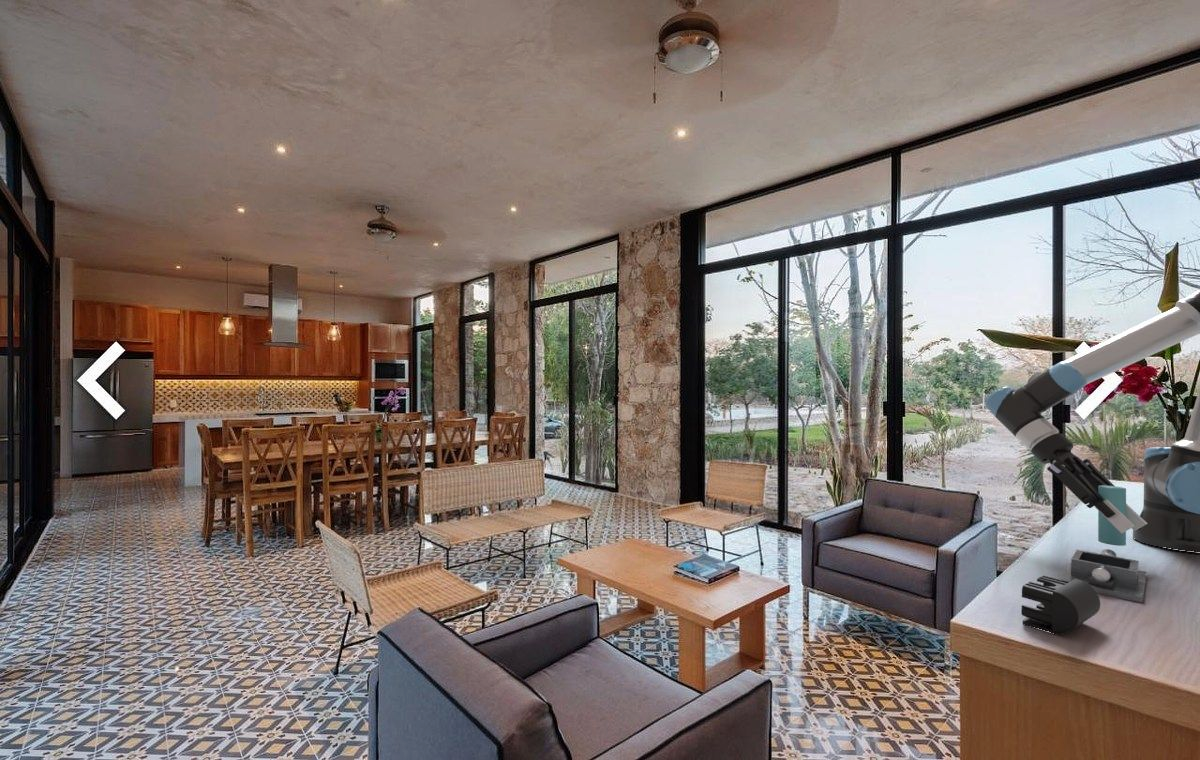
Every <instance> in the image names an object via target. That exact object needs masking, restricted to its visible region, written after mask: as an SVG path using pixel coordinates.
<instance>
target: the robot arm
mask: <svg viewBox="0 0 1200 760" xmlns="http://www.w3.org/2000/svg"><path fill="white" fill-rule="evenodd" d="M1174 305H1175V306H1174V307H1173V308H1171V309H1169V310H1167V311H1165V312H1162V313H1160V314H1158V315H1156V316H1154V317H1152V318H1150V319H1148V320H1146V321H1144V322H1142V323H1140V324H1138V325H1136V326H1134V327H1130V328H1129V329H1127V330H1125V331H1123V332H1121V333H1119V334H1117V335H1114V336H1112V337H1110V338H1109V339H1107V340H1104V341H1103V342H1100V343H1098V344H1096V345H1094V346H1092V347H1090V348H1088V349H1086V350H1082V351H1081V352H1079V353H1077V354H1076V355H1073V356H1071V357H1068V358H1067V359H1065V360H1062V361H1059V362H1058V363H1056V364H1054V365H1052V366H1050V367H1048V368H1046V369H1044V370H1042V371H1039V372H1035V373H1034V374H1032V375H1031V376H1030V377H1029V378H1028V380H1027V383H1026V384H1024V385H1023V386H1021V387H1019V388H1017V389H1015V388H1013V387H1012V386H1009V385H1008V386H1004V387H1001V388H1000V389H997V390H995V391H994V392H992V393H991V394H990V395H989V396H987V399H986V400H985V407H986V409H987V410H989V412H990V413H991V414H992V415H993V416H994V417H995V418H996V419H997V420H998V421H999V422H1000V423H1001V424H1002V425H1003V427H1005V428H1006V429H1007V430H1008V431H1009V432H1010V433H1011V434H1012V435H1013V436H1014V437H1016V439H1017V440H1018V441H1019V444H1020V445H1022V446H1024V447H1025V449H1027V450H1029V451H1030V452H1031V455H1033V456H1034V457H1035V458H1036V459H1037V460H1038V461H1039V462H1040V463H1041V464H1045V465H1046V464H1050V465H1049V466H1048V467H1047V468H1046V470H1047V471H1048V472H1050V473H1051V474H1052V475H1053V476H1054V477H1056V479H1058V480H1059V481H1060V482H1061V483H1062V484H1063V485H1065V487H1066V488H1067V489H1069V490H1070V492H1072V493H1073V495H1074V496H1075V497H1076V498H1078V500H1079V501H1080V502H1082V503H1083V504H1084V505H1086V507H1087V508H1089V509H1091V508H1093V507H1094V508H1095V509H1096V510H1097V511H1099V512H1100V513H1101V514H1102V515H1103V516H1104V517H1105V518H1106V519H1107V520H1109V521H1110V522H1111V523H1112V524H1113V525H1114V526H1115V527H1116V528H1117V529H1118V530H1119V531H1120V532H1121V533H1124V532H1126V533H1127V531H1129V530H1131V529H1132V539H1133V538H1135V539H1136V540H1138V541H1137V542H1139V541H1140V542H1139V543H1141V542H1143V543H1142V544H1144V543H1146V544H1145V545H1148V544H1150V545H1149V546H1151V545H1155V546H1159V547H1158V548H1160V547H1166V548H1171V549H1178V550H1185V551H1194V552H1200V388H1199V389H1198V393H1197V396H1196V399H1195V403H1194V406H1193V409H1192V412H1191V415H1190V419H1189V421H1188V422H1189V423H1188V424H1187V425H1188V426H1187V428H1186V432H1185V435H1184V438H1182V439H1180V440H1178V441H1175V442H1174V443H1172V444H1171V446H1169V447H1167V446H1166V447H1164V446H1163V447H1162V446H1155V447H1153V446H1152V447H1148V448H1146V450H1145V452H1144V458H1143V459H1142V460H1143V463H1144V465H1143V468H1144V469H1143V507H1142V510H1141V512H1140V514H1138V513H1137V512H1136V511H1135V510H1134V509H1133V508H1132V507H1130V505H1128V504H1127V503H1126V517H1125V516H1124V515H1123V514H1122V513H1121V512H1120V511H1119V510H1118V509H1117V508H1116V507H1115V506H1114V505H1113V504H1112V503H1111V502H1110V501H1108V500H1104V499H1103V498H1102V496H1101V495H1100V494H1099V493H1098V486H1101V485H1105V486H1115V485H1114V484H1113V482H1111V481H1110V480H1109V479H1108V478H1107V477H1106V476H1105V475H1104V474H1103V473H1102V472H1100V470H1099V469H1098V468H1096V467H1095V465H1094V464H1093V463H1092V462H1091V460H1089V459H1088V458H1084V459H1081V458H1080V457H1078V456H1076V455H1075V454H1074V453H1072V450H1073V448H1074V444H1073V443H1072V441H1070V440H1069V439H1068V438H1067V437H1066V436H1065V435H1064V434H1063V433H1060V430H1059V429H1058V428H1057V427H1056V426H1055V425H1053V424H1052V423H1051V422H1050V421H1049V420H1048V419H1047V418H1045V417H1044V415H1043V413H1045V412H1046V411H1048V410H1049V409H1051V408H1053V407H1054V406H1056V405H1058V404H1059V403H1061V402H1063V401H1065V400H1066V399H1068V398H1069V397H1071V396H1072V395H1074V394H1077V393H1078V391H1080V390H1081V389H1083V388H1084V387H1086V385H1088V384H1090V383H1093V382H1095V381H1097V380H1099V379H1102V378H1104V377H1106V376H1108V375H1110V374H1112V373H1115V372H1117V371H1119V370H1122V369H1124V368H1127V367H1128V366H1130V365H1133V364H1135V363H1138V362H1140V361H1142V360H1144V359H1147V358H1148V357H1151V356H1152V355H1153V356H1154V355H1155V354H1157V353H1160V352H1162V351H1165V350H1166V349H1168V348H1172V347H1173V346H1175V345H1177V344H1180V343H1182V342H1184V341H1186V340H1188V339H1191V338H1193V337H1195V336H1197V335H1200V289H1198V290H1196V291H1194V292H1193V293H1191V294H1189V295H1188V296H1185V297H1184V298H1181V299H1180V300H1177V301H1176V302H1175V304H1174ZM1103 500H1104V501H1103ZM1135 539H1134V540H1135ZM1136 540H1135V541H1136ZM1155 546H1154V547H1155Z"/></svg>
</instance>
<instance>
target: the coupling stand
mask: <svg viewBox="0 0 1200 760" xmlns="http://www.w3.org/2000/svg"><path fill="white" fill-rule="evenodd" d="M1070 559H1071V560H1070V562H1069V564H1068V566H1067V568H1066V570H1065V571H1064V573H1063V575H1062V576H1061V578H1060V579H1059V580H1063V581H1067V582H1071V581H1072V580H1074V579H1078V580H1081V581H1083V582H1085V583H1087V584H1088V585H1090V586H1091V587H1092V588H1093V589H1094V590H1095V591H1096V593H1097V594H1098V595H1099V594H1100V595H1104V596H1109V597H1114V598H1118V599H1122V600H1126V601H1127V600H1128V601H1131V602H1135V603H1140V604H1143V600H1144V595H1145V587H1146V582H1147V580H1146V579H1147V571H1144V570H1139V560H1135V559H1130V558H1124V557H1119V556H1117V553H1116V552H1115V551H1114V550H1112V549H1110V548H1109V549H1108V548H1104V549H1102V550H1101V551H1100V553H1096V552H1093V551H1085V550H1081V549H1076V550H1075V553H1073V555H1072V557H1071V558H1070Z"/></svg>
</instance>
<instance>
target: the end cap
mask: <svg viewBox="0 0 1200 760" xmlns="http://www.w3.org/2000/svg"><path fill="white" fill-rule="evenodd" d="M1036 582H1039V583H1040V584H1039V583H1036ZM1036 582H1032V581H1029V582H1028V583H1027V582H1026V583H1025V584H1023V585H1022V586H1021V587H1022V588H1021V598H1024V599H1028V600H1031V601H1034V602H1038V604H1037V605H1036V608H1035V607H1033V606H1030V605H1029V606H1028V605H1025V604H1021V610H1020V611H1021V613H1020V614H1021V616H1023V617H1025V618H1023V619H1022V623H1023V624H1022V625H1024V624H1025V625H1024V626H1026V625H1028V626H1027V627H1029V626H1031V627H1030V628H1032V627H1035V628H1039V629H1042V630H1045V631H1049V632H1051V633H1054V634H1058V635H1057V636H1060V635H1063V634H1066V633H1069V632H1072V631H1073V630H1075V629H1076V628H1078V627H1079V626H1080V625H1082V624H1084V623H1085V622H1086V621H1088V620H1089V619H1092V618H1093V617H1094V616H1096V614H1098V613H1099V611H1100V608H1101V599H1100V596H1099V593H1096V591H1095V590H1094V589H1093V588H1092V587H1091V586H1090V585H1088V584H1087V583H1085V582H1083V581H1081V580H1078V579H1074V580H1072V581H1071V582H1067V581H1063V580H1060V579H1058V578H1055V577H1050V576H1047V575H1041V576H1040V577H1038V578H1036ZM1041 583H1043V584H1041ZM1035 628H1034V629H1035ZM1054 634H1053V635H1054Z"/></svg>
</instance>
